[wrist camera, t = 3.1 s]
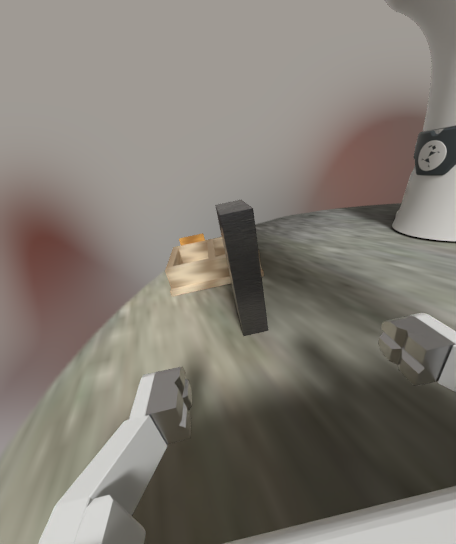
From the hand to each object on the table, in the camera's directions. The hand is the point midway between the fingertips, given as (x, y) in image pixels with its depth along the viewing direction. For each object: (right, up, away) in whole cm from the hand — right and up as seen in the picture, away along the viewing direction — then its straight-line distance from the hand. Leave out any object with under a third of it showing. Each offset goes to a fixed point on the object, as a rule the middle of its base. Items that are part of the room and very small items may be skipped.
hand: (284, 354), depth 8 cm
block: (0, -2, +15) cm, 15 cm away
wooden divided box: (-4, +4, +27) cm, 28 cm away
